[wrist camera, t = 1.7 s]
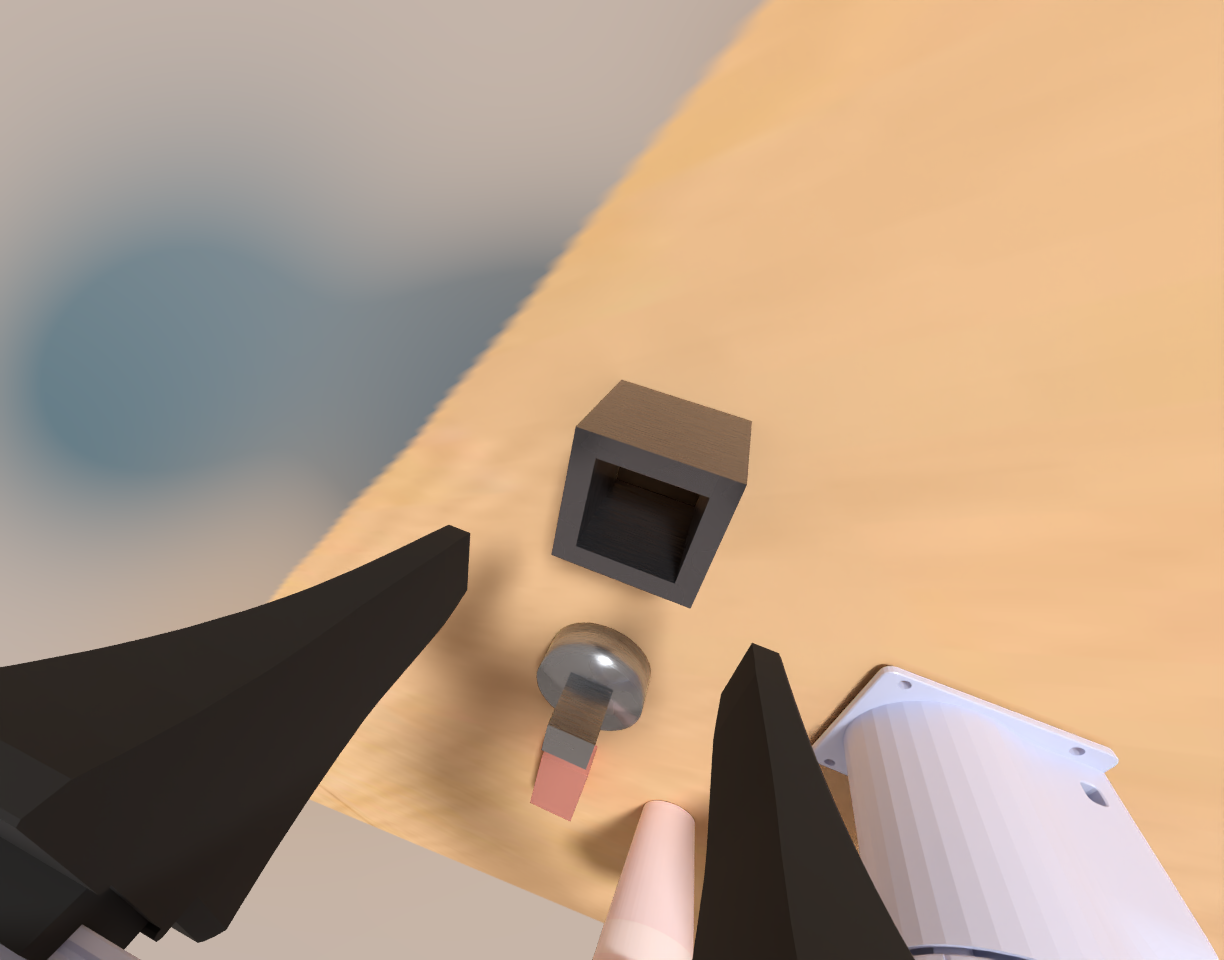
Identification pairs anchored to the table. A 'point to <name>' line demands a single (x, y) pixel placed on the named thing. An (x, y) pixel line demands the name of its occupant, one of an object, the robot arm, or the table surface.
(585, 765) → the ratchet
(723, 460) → the hollow square tube
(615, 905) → the smoothie
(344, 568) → the table surface
